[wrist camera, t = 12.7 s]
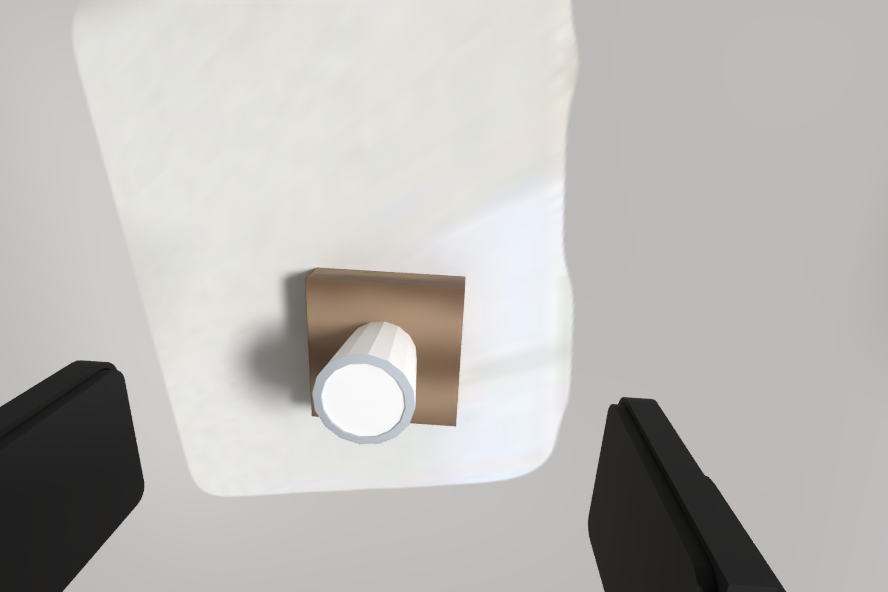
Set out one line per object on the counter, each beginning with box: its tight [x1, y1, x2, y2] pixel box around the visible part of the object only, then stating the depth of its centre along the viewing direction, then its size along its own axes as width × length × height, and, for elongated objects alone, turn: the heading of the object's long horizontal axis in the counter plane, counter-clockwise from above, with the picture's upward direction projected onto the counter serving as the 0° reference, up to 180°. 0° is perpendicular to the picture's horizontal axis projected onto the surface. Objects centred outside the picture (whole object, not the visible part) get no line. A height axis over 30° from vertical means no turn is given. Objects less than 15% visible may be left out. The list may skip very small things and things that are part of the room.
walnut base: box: [305, 268, 465, 426], centre depth 41 cm, size 12×12×3 cm
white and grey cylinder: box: [312, 322, 417, 444], centre depth 36 cm, size 7×7×7 cm
